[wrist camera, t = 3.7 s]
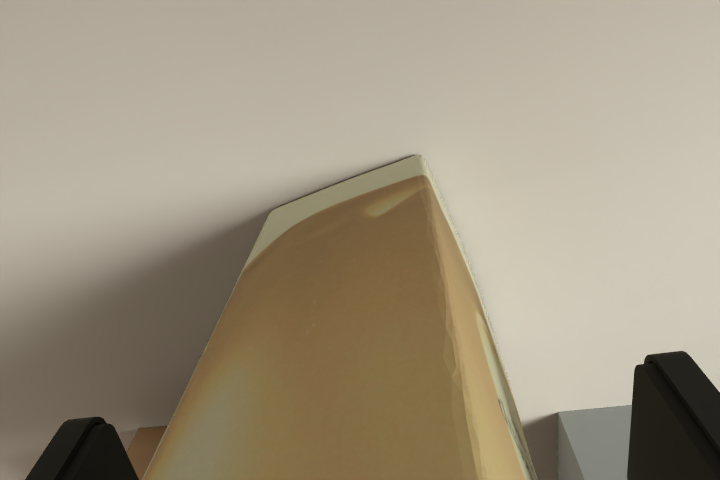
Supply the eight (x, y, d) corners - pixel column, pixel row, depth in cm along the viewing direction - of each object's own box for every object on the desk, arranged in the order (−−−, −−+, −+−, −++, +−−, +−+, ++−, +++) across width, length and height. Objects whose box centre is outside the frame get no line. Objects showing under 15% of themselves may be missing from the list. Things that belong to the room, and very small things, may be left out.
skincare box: (500, 340, 16) (775, 1207, 5) (358, 385, 17) (322, 1203, 6) (419, 135, 13) (625, 1017, 2) (256, 201, 14) (-165, 1065, 3)
